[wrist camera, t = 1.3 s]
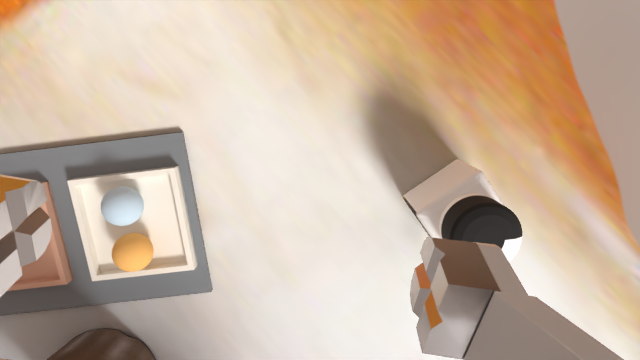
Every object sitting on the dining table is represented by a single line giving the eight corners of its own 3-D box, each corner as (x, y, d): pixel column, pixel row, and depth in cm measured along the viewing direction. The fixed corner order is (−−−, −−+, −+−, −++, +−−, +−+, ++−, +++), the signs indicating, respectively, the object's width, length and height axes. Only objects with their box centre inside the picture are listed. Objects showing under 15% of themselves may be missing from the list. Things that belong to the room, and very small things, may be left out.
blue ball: (153, 216, 46) (137, 228, 42) (116, 221, 46) (97, 233, 42) (145, 180, 45) (129, 189, 41) (108, 185, 45) (88, 194, 41)
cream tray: (197, 264, 47) (194, 269, 46) (98, 275, 48) (92, 281, 46) (178, 165, 45) (174, 168, 44) (74, 178, 45) (67, 180, 44)
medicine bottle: (401, 195, 46) (428, 231, 35) (457, 157, 45) (504, 181, 34) (436, 246, 47) (474, 297, 36) (491, 209, 47) (549, 250, 35)
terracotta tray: (74, 278, 48) (66, 284, 46) (-24, 289, 48) (-34, 295, 46) (48, 181, 45) (40, 183, 44) (-54, 193, 46) (-66, 196, 44)
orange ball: (162, 260, 47) (148, 275, 43) (126, 264, 47) (109, 280, 43) (155, 225, 46) (140, 238, 42) (118, 230, 46) (100, 243, 42)
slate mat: (212, 289, 48) (211, 291, 48) (-19, 315, 49) (-23, 318, 49) (183, 131, 45) (181, 132, 44) (-67, 162, 45) (-72, 163, 45)
